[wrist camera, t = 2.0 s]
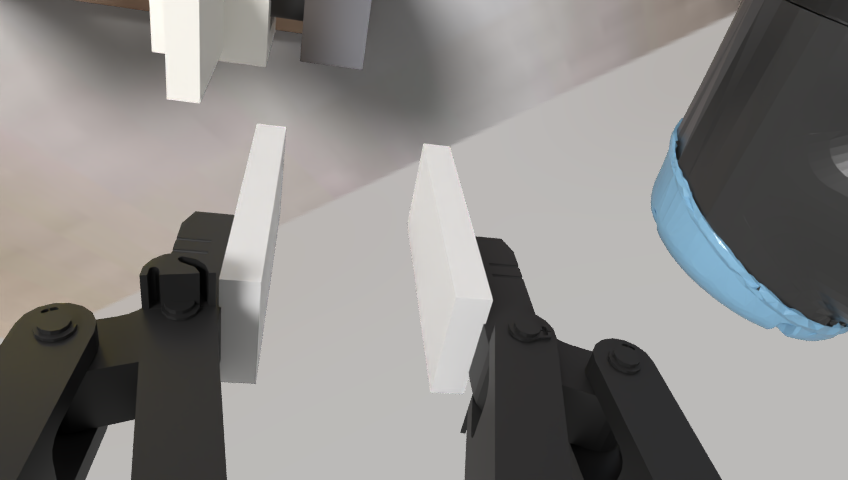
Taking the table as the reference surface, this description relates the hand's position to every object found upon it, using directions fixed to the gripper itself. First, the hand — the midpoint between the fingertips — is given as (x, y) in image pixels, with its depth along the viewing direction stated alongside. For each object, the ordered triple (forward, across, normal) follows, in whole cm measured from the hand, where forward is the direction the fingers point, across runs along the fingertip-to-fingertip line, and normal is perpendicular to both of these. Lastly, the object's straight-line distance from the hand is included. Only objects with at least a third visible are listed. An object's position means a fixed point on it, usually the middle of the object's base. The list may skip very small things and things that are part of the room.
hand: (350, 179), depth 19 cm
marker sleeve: (+19, +6, 0) cm, 20 cm away
